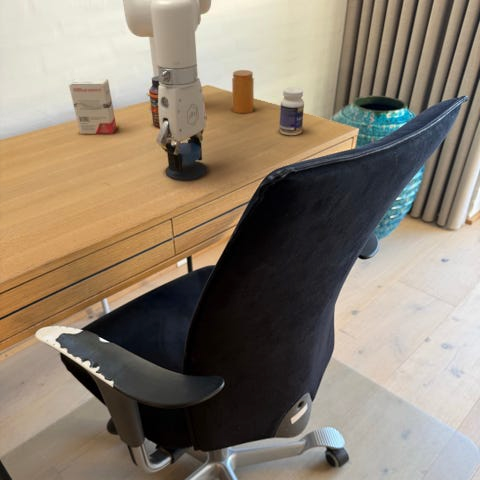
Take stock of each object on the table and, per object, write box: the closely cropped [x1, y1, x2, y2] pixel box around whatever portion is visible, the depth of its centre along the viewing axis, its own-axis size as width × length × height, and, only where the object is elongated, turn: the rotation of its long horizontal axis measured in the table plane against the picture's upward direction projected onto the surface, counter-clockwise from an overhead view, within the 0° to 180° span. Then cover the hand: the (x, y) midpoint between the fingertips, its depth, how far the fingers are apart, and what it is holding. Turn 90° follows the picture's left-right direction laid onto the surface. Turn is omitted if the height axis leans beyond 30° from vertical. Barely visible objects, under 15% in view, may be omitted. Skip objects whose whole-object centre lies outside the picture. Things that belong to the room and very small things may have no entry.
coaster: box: [165, 160, 208, 182], centre depth 103 cm, size 9×9×1 cm
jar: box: [231, 69, 255, 114], centre depth 129 cm, size 6×6×10 cm
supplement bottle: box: [148, 76, 160, 128], centre depth 121 cm, size 6×6×11 cm
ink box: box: [68, 78, 117, 135], centre depth 118 cm, size 8×5×12 cm, turn 89°
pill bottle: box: [279, 87, 305, 136], centre depth 117 cm, size 6×6×10 cm
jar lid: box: [172, 142, 201, 163], centre depth 100 cm, size 6×6×2 cm
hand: (186, 164), depth 102 cm, fingers closed on jar lid, 6 cm apart
